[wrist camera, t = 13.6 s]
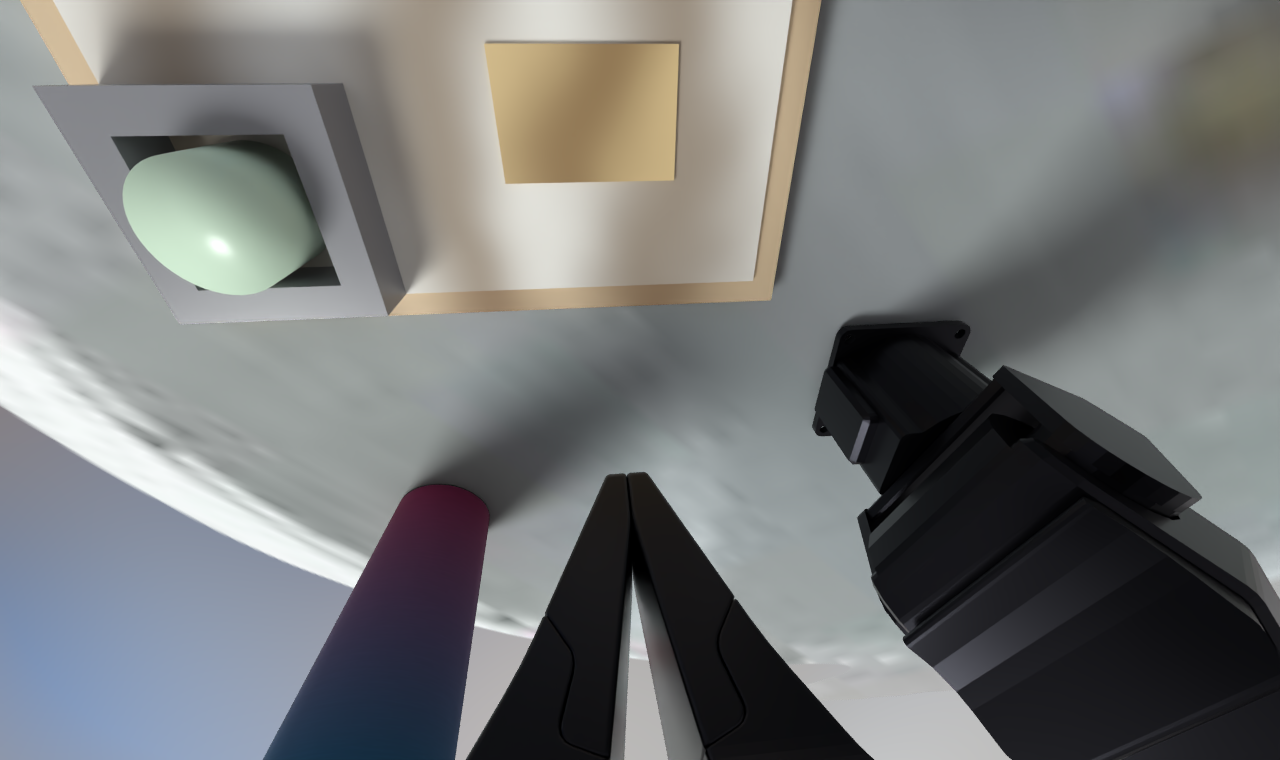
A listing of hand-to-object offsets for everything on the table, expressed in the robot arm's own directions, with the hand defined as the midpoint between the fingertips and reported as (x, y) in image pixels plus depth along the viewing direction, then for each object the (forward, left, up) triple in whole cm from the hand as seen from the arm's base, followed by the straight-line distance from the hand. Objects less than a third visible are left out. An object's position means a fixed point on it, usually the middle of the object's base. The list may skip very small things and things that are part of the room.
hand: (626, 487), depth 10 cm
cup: (+10, +14, -12) cm, 21 cm away
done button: (+11, -3, -11) cm, 16 cm away
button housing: (+11, -3, -11) cm, 16 cm away
